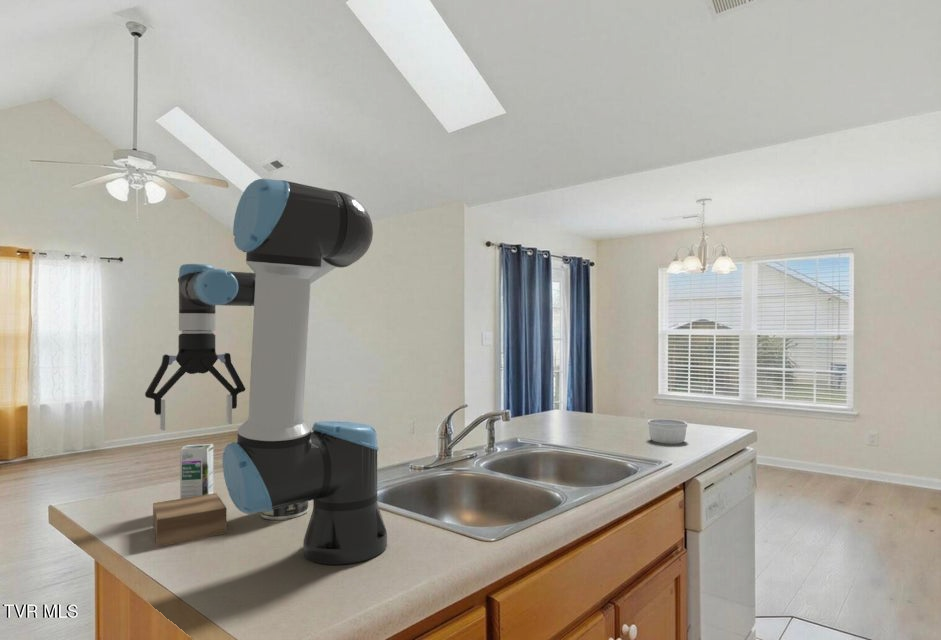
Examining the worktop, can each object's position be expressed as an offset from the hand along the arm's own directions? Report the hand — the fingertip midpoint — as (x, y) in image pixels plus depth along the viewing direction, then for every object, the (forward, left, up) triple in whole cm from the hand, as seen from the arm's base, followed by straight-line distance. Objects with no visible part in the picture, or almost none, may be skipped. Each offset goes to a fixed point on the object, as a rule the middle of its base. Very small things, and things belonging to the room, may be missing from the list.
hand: (196, 426), depth 123 cm
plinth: (-13, +3, -19) cm, 23 cm away
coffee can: (-13, -16, -19) cm, 28 cm away
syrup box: (0, 0, -19) cm, 19 cm away
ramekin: (-14, -150, -19) cm, 152 cm away
